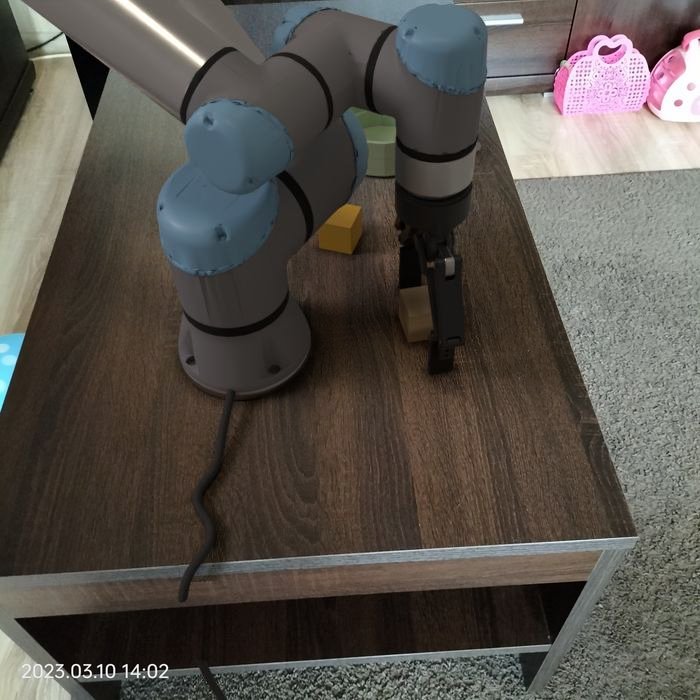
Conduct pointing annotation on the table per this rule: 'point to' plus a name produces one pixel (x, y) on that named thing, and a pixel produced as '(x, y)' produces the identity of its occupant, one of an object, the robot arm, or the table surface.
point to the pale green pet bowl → (378, 141)
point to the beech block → (415, 313)
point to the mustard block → (342, 230)
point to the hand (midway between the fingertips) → (424, 326)
